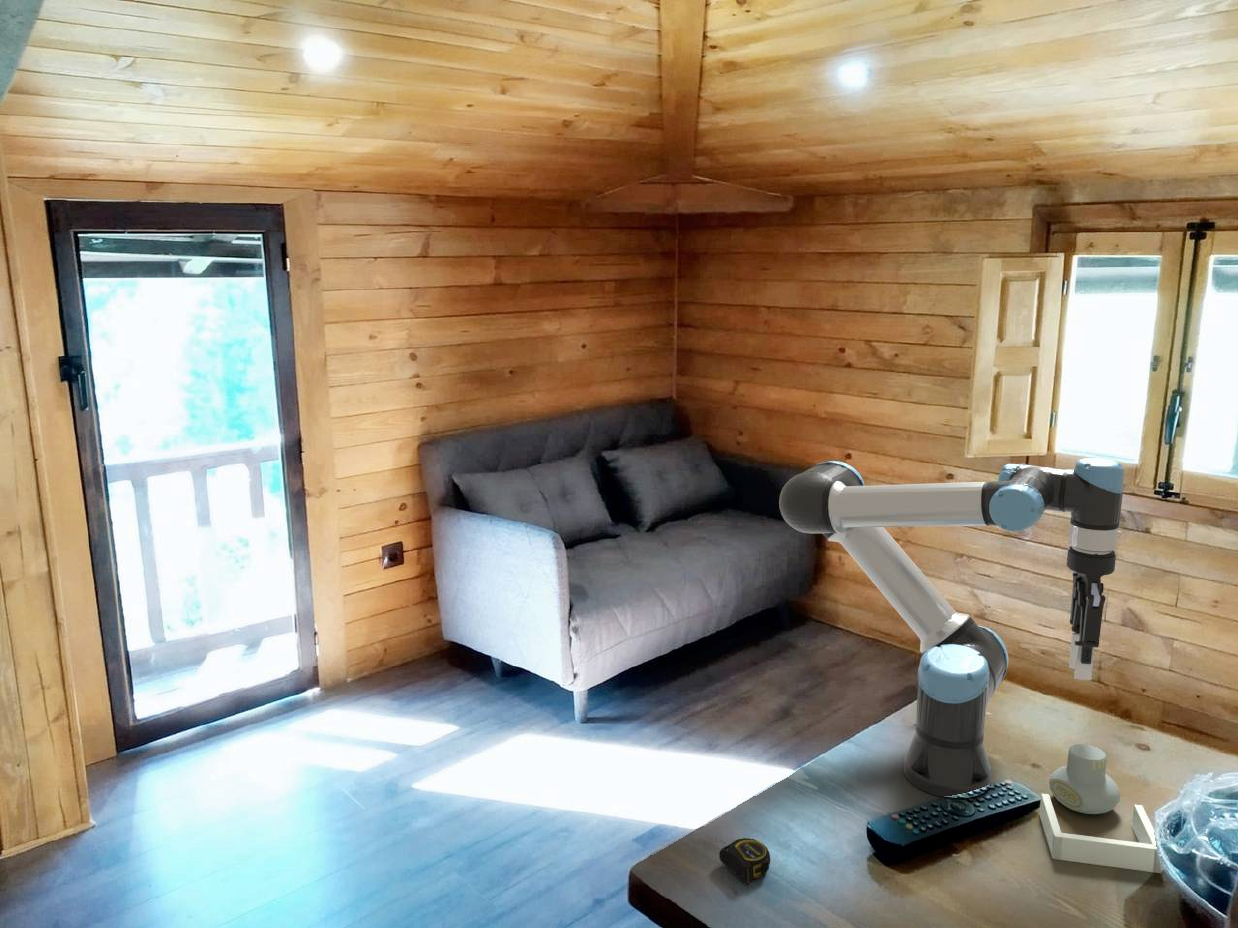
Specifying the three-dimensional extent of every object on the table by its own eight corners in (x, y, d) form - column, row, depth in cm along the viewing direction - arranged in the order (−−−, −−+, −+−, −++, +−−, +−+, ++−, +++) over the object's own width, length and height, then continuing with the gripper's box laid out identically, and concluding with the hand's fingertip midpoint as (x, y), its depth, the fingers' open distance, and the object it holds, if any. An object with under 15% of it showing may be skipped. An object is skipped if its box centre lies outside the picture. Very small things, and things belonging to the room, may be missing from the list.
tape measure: (717, 865, 148) (717, 844, 147) (752, 851, 151) (753, 831, 150) (742, 890, 142) (742, 868, 141) (778, 876, 145) (779, 854, 144)
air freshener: (1127, 815, 158) (1133, 761, 156) (1091, 827, 155) (1097, 773, 153) (1074, 782, 168) (1079, 732, 166) (1039, 793, 165) (1044, 742, 163)
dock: (1052, 858, 147) (1054, 836, 147) (1039, 814, 159) (1041, 793, 158) (1161, 873, 144) (1164, 850, 143) (1139, 826, 155) (1142, 805, 154)
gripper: (1128, 564, 153) (1114, 696, 158) (1104, 535, 169) (1092, 655, 174) (1078, 561, 155) (1066, 692, 160) (1059, 532, 171) (1048, 652, 176)
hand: (1079, 672), depth 167 cm, fingers open, 4 cm apart
